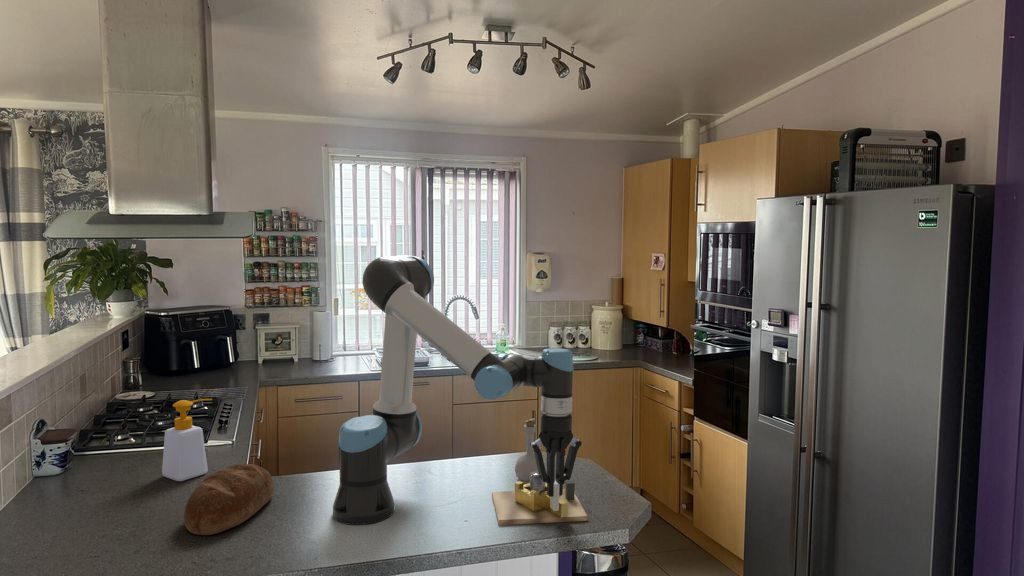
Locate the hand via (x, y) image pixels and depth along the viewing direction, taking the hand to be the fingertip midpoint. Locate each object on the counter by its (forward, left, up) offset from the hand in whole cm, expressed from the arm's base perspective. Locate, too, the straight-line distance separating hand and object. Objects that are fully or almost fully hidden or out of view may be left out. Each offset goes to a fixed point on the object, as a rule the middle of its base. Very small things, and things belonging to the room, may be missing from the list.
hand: (554, 508), depth 160 cm
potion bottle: (-2, +29, -4) cm, 30 cm away
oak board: (-3, +9, -4) cm, 10 cm away
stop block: (+6, +12, -2) cm, 13 cm away
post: (-3, +9, -4) cm, 10 cm away
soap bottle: (-100, +45, -4) cm, 110 cm away
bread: (-80, +15, -4) cm, 81 cm away
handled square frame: (-1, +6, -2) cm, 7 cm away
